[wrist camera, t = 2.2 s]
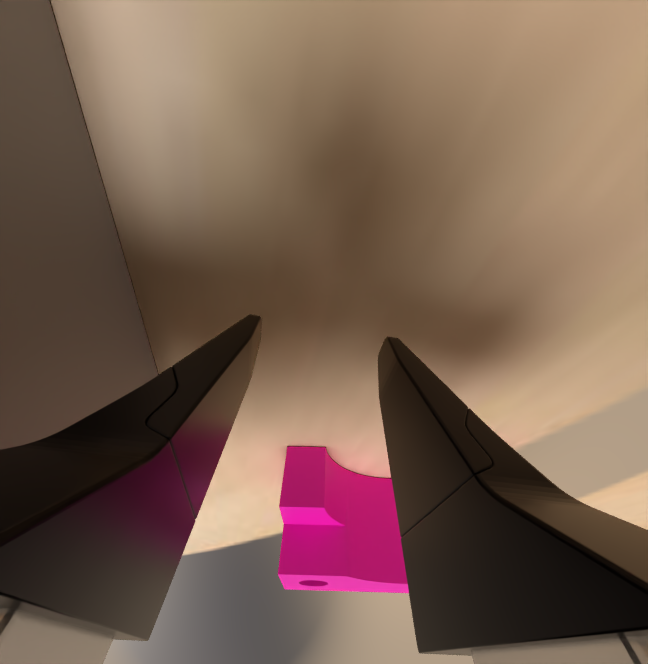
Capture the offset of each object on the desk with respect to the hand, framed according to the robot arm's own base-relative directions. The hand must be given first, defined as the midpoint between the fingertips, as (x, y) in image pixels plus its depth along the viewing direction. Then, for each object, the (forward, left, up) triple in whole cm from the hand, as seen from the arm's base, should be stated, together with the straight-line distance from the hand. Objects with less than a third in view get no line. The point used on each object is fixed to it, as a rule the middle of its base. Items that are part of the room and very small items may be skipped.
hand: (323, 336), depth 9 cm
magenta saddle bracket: (-8, +19, +1) cm, 20 cm away
